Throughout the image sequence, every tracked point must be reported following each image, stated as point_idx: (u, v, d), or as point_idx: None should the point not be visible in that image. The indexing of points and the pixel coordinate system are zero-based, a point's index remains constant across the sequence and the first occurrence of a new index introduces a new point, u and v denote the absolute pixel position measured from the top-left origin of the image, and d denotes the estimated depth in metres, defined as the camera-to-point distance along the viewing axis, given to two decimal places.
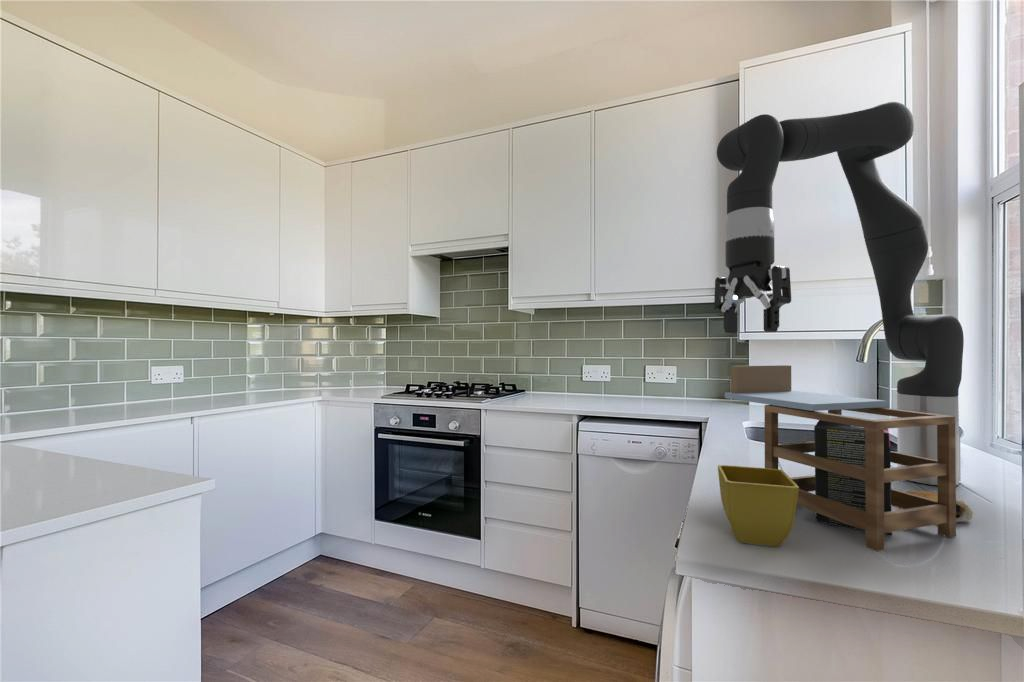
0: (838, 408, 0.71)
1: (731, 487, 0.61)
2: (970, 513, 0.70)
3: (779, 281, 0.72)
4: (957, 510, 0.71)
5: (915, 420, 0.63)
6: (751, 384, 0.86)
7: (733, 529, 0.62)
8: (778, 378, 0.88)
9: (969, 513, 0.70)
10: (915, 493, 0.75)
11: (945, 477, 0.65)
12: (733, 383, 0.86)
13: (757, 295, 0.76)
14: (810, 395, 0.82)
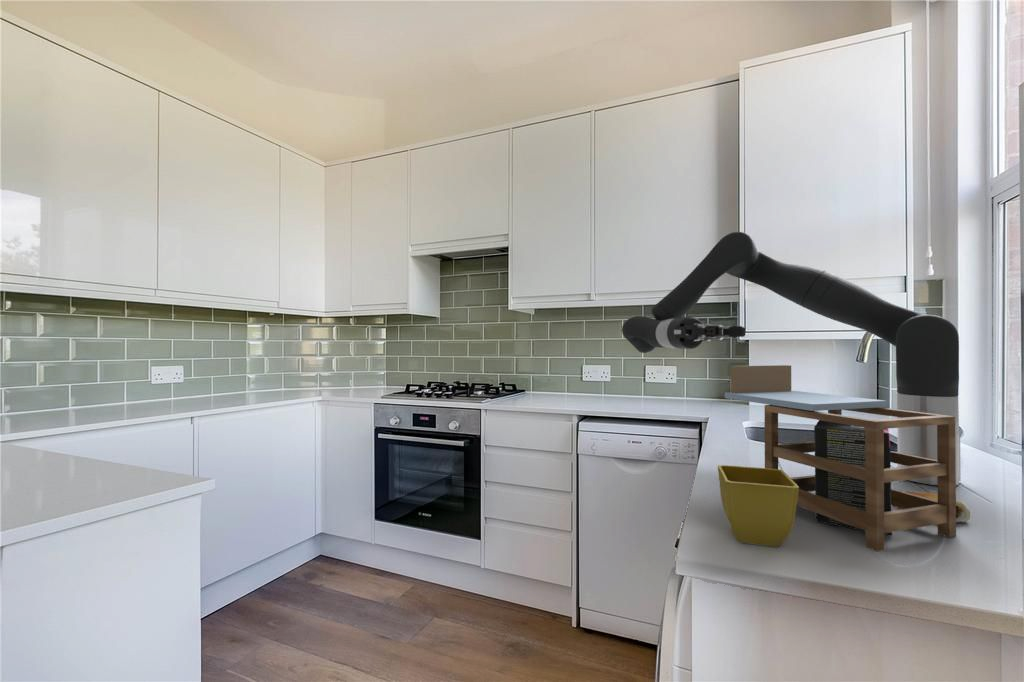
0: (838, 408, 0.71)
1: (731, 487, 0.61)
2: (968, 513, 0.70)
3: (682, 336, 1.00)
4: None
5: (915, 420, 0.63)
6: (751, 384, 0.86)
7: (733, 529, 0.62)
8: (778, 378, 0.88)
9: (967, 513, 0.70)
10: (913, 493, 0.75)
11: (945, 477, 0.65)
12: (733, 383, 0.86)
13: (701, 339, 1.00)
14: (810, 395, 0.82)
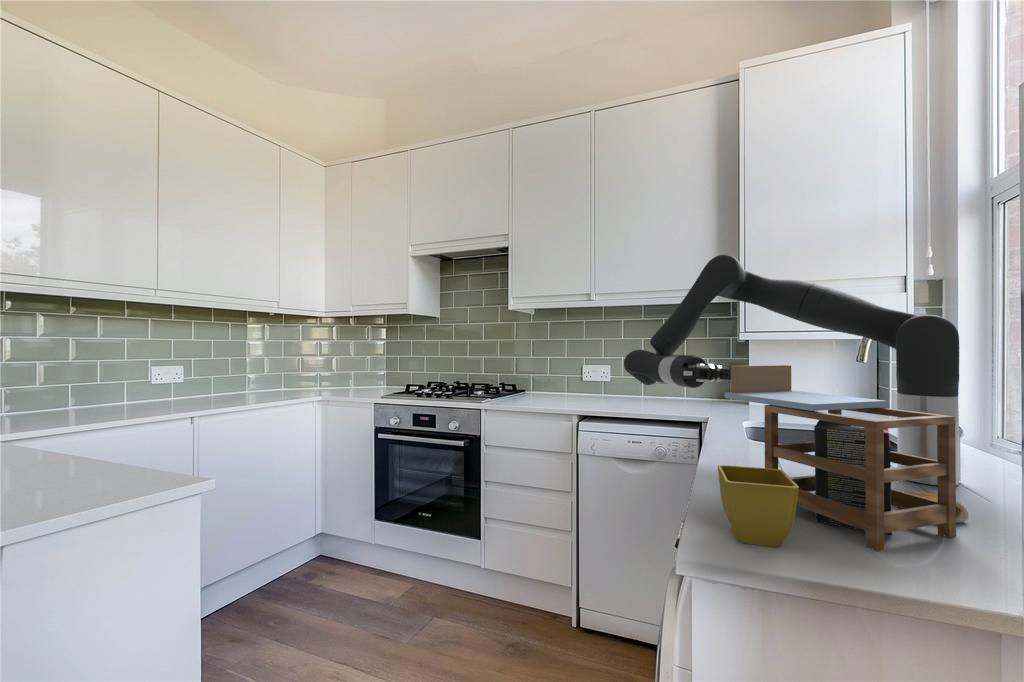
0: (838, 408, 0.71)
1: (731, 487, 0.61)
2: (966, 513, 0.70)
3: (695, 378, 0.98)
4: None
5: (915, 420, 0.63)
6: (751, 384, 0.86)
7: (733, 529, 0.62)
8: (778, 378, 0.88)
9: (965, 514, 0.70)
10: None
11: (945, 477, 0.65)
12: (733, 383, 0.86)
13: None
14: (810, 395, 0.82)
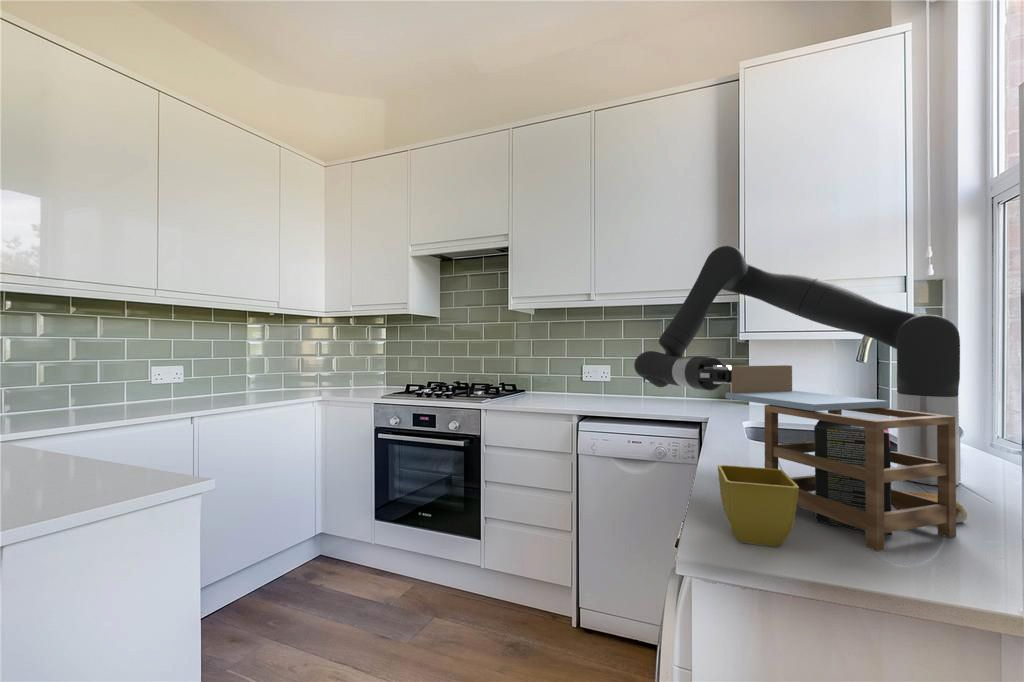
0: (839, 408, 0.71)
1: (731, 487, 0.61)
2: (965, 513, 0.70)
3: (713, 380, 0.93)
4: None
5: (915, 420, 0.63)
6: (752, 384, 0.86)
7: (733, 529, 0.62)
8: (779, 378, 0.88)
9: (964, 514, 0.70)
10: None
11: (945, 477, 0.65)
12: (734, 383, 0.86)
13: (730, 383, 0.94)
14: (811, 395, 0.81)
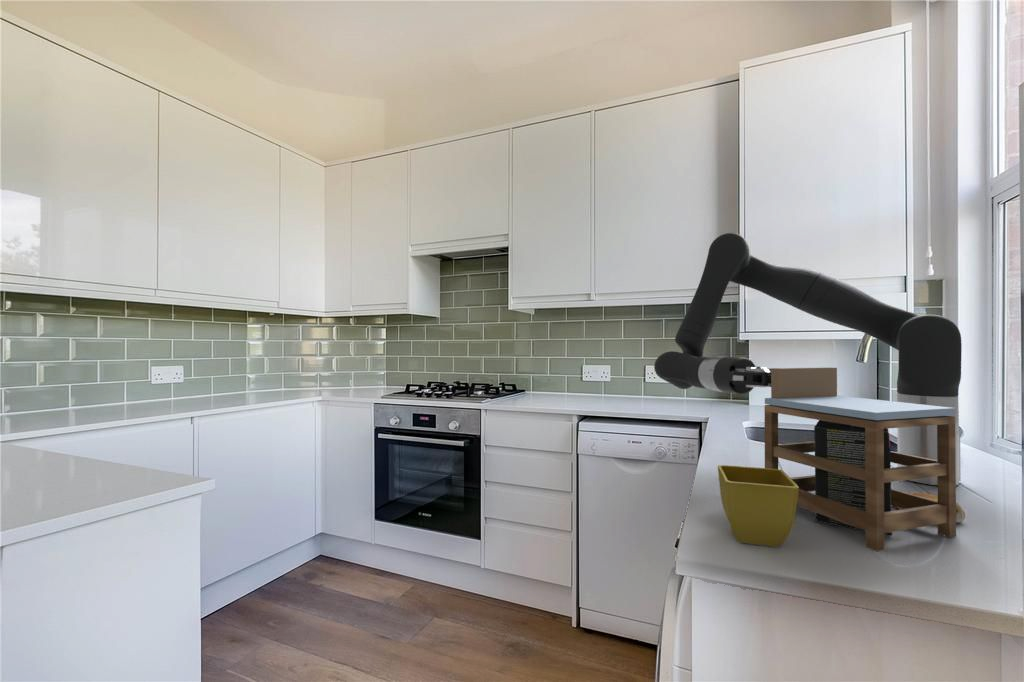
0: (904, 417, 0.62)
1: (731, 487, 0.61)
2: (963, 513, 0.70)
3: (747, 384, 0.85)
4: None
5: (915, 420, 0.63)
6: (794, 388, 0.77)
7: (733, 529, 0.62)
8: (823, 382, 0.79)
9: (962, 514, 0.70)
10: None
11: (945, 477, 0.65)
12: (774, 387, 0.77)
13: None
14: (863, 401, 0.73)
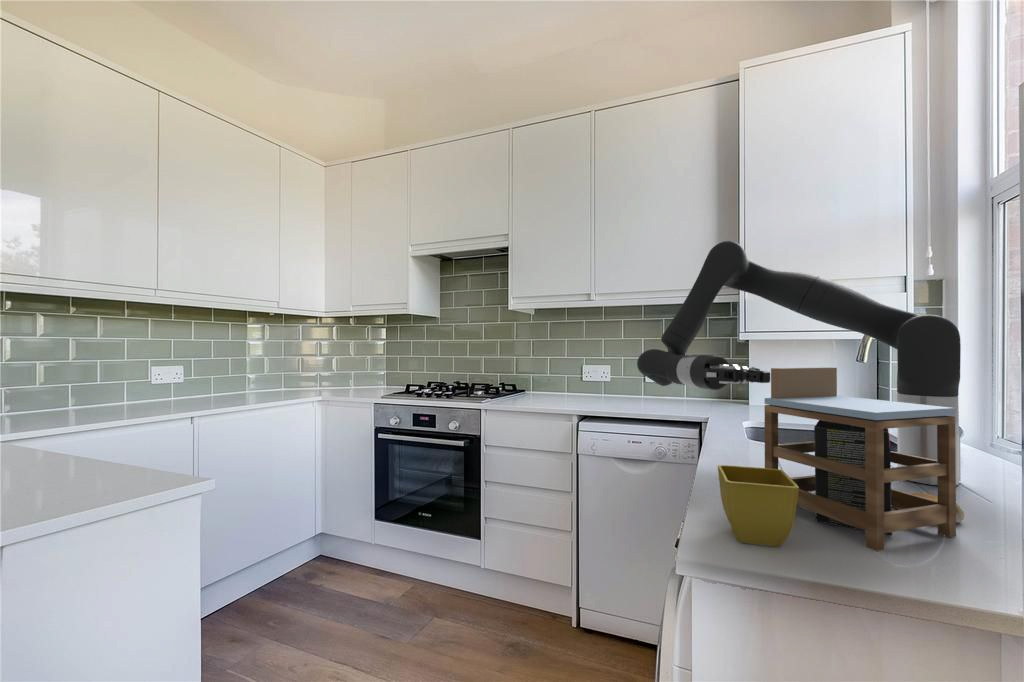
0: (903, 417, 0.62)
1: (731, 487, 0.61)
2: (962, 514, 0.70)
3: (719, 380, 0.91)
4: None
5: (915, 420, 0.63)
6: (794, 388, 0.77)
7: (733, 529, 0.62)
8: (823, 382, 0.79)
9: (961, 514, 0.70)
10: None
11: (945, 477, 0.65)
12: (774, 387, 0.77)
13: None
14: (862, 401, 0.73)
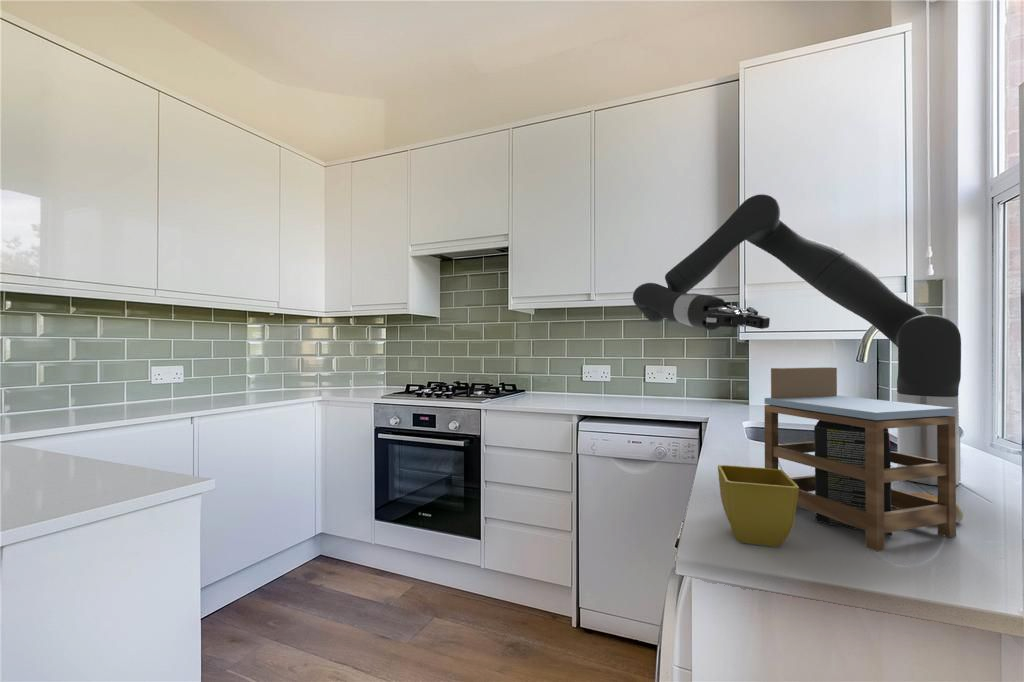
0: (903, 417, 0.62)
1: (731, 487, 0.61)
2: (961, 514, 0.70)
3: (719, 325, 0.93)
4: None
5: (915, 420, 0.63)
6: (794, 388, 0.77)
7: (733, 529, 0.62)
8: (823, 382, 0.79)
9: (960, 514, 0.70)
10: None
11: (945, 477, 0.65)
12: (774, 387, 0.77)
13: None
14: (862, 401, 0.73)
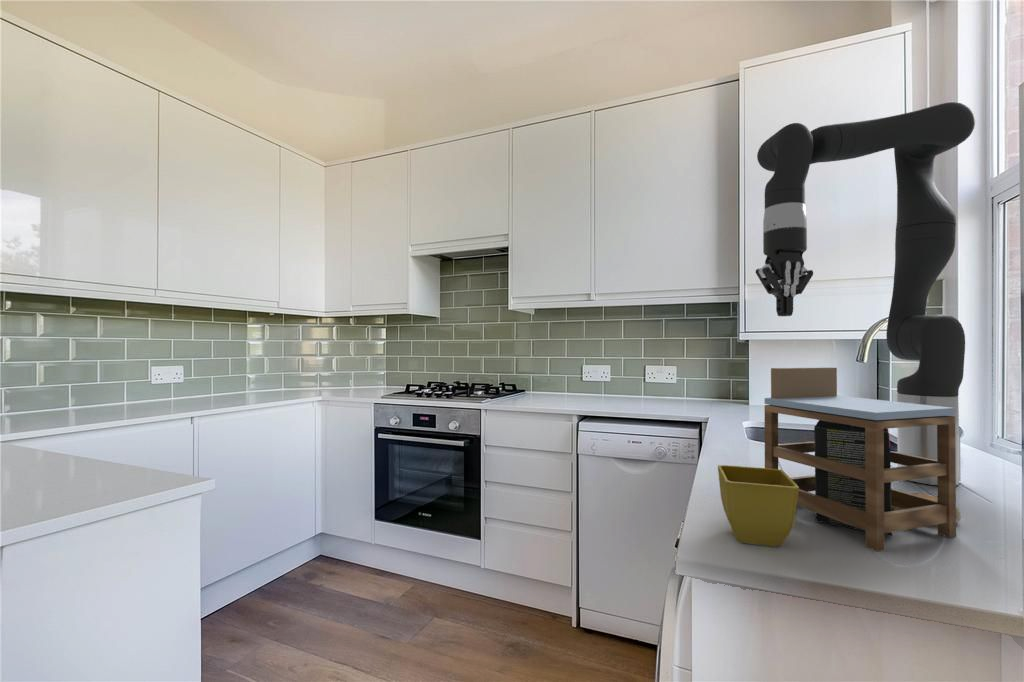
0: (903, 417, 0.62)
1: (731, 487, 0.61)
2: (959, 514, 0.70)
3: (761, 281, 0.92)
4: None
5: (915, 420, 0.63)
6: (794, 388, 0.77)
7: (733, 529, 0.62)
8: (823, 382, 0.79)
9: (958, 514, 0.70)
10: None
11: (945, 477, 0.65)
12: (774, 387, 0.77)
13: None
14: (862, 401, 0.73)
